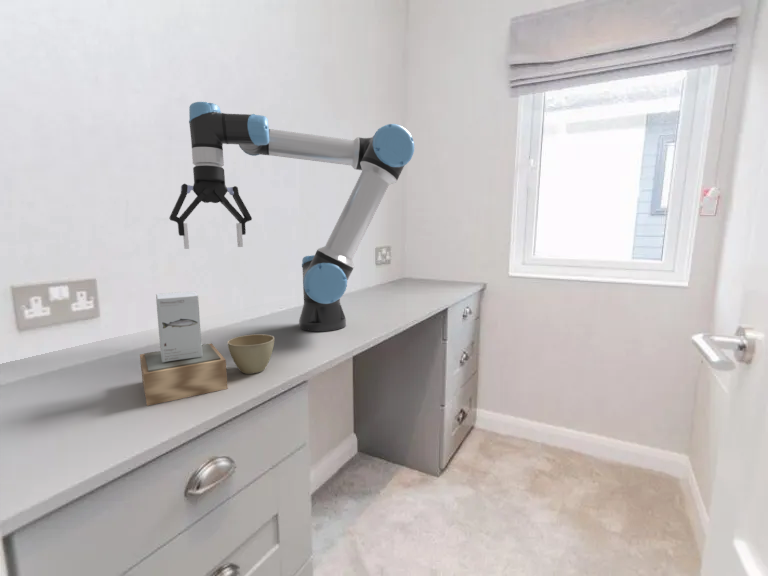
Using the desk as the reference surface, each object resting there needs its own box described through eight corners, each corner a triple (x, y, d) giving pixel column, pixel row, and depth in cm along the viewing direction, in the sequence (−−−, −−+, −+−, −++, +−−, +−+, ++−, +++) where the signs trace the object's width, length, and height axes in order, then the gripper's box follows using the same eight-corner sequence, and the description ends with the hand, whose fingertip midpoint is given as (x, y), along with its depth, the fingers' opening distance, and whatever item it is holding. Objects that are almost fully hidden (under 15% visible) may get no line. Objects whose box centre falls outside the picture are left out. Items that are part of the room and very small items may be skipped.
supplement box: (161, 363, 77) (155, 298, 75) (161, 353, 83) (155, 293, 81) (203, 357, 80) (198, 295, 78) (200, 348, 87) (195, 290, 85)
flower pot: (284, 365, 94) (283, 335, 93) (257, 380, 85) (256, 347, 84) (248, 361, 97) (247, 332, 96) (219, 375, 88) (217, 343, 87)
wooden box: (213, 368, 92) (211, 342, 91) (227, 388, 81) (225, 358, 80) (142, 382, 84) (139, 353, 84) (146, 405, 73) (143, 372, 72)
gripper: (252, 171, 116) (256, 245, 119) (153, 164, 102) (160, 248, 105) (260, 168, 109) (264, 246, 112) (155, 160, 96) (163, 249, 99)
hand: (214, 247), depth 109 cm, fingers open, 13 cm apart
